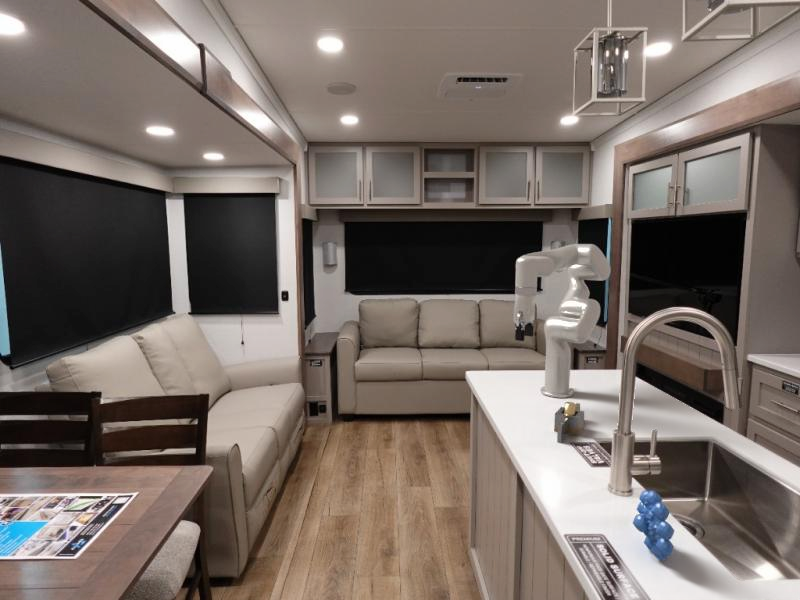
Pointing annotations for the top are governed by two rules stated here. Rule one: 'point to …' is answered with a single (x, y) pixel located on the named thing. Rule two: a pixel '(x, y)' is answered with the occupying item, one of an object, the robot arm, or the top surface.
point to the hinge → (568, 423)
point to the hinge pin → (569, 408)
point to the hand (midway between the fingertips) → (524, 338)
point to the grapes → (654, 524)
